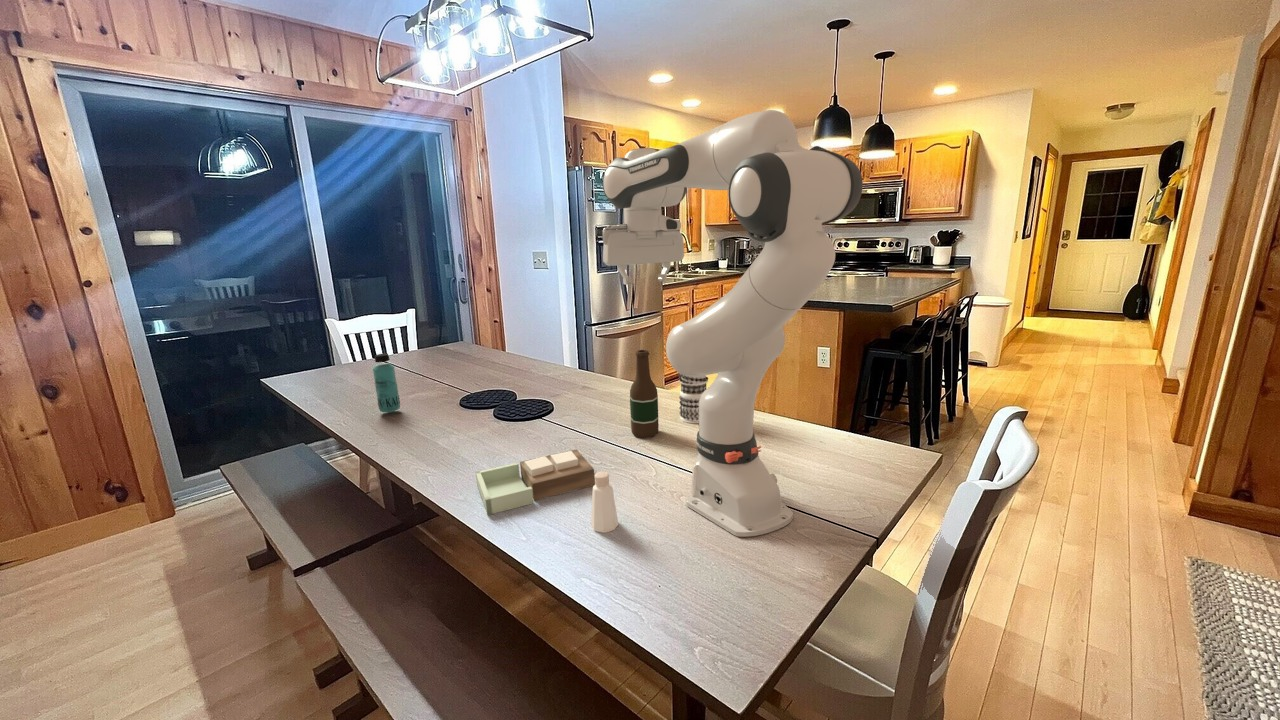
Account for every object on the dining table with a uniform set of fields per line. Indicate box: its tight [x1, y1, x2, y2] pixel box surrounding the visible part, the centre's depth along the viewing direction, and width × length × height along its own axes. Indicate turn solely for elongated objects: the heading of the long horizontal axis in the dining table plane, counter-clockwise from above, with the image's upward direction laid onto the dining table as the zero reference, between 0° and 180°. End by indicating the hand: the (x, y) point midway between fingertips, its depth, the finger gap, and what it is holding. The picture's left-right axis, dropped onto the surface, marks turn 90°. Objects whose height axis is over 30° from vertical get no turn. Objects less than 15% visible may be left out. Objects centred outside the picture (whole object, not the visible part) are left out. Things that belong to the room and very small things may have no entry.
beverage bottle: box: [372, 353, 401, 413], centre depth 163 cm, size 6×7×20 cm
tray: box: [475, 462, 534, 516], centre depth 112 cm, size 14×10×4 cm
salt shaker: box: [590, 471, 619, 534], centre depth 98 cm, size 5×5×11 cm
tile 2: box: [550, 450, 578, 470], centre depth 117 cm, size 5×5×2 cm
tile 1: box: [524, 455, 554, 477], centre depth 114 cm, size 5×5×2 cm
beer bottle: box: [629, 349, 660, 440], centre depth 139 cm, size 8×8×24 cm
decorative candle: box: [678, 373, 709, 424], centre depth 149 cm, size 9×9×25 cm
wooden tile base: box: [519, 448, 596, 502], centre depth 117 cm, size 12×14×4 cm
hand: (645, 282), depth 122 cm, fingers open, 8 cm apart
